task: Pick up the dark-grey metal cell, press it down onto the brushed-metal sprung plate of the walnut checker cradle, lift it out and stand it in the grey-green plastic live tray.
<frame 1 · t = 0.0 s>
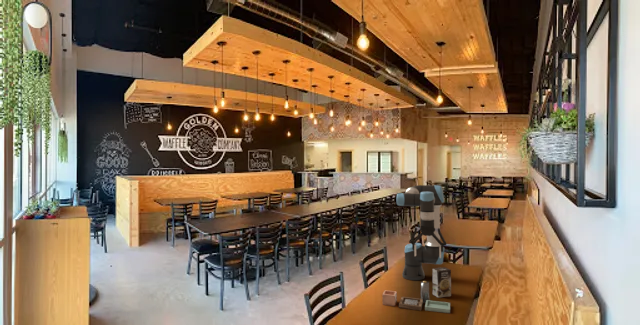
hand: (427, 256, 210), 28 cm above the table, fingers open, 13 cm apart
live tray: (437, 308, 207), on the table
checker plate: (411, 302, 212), point 1 cm above the table, slide at -1.2 cm
cell: (425, 301, 217), on the table
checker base: (411, 305, 212), on the table
coffee box: (441, 295, 226), on the table
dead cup: (389, 303, 215), on the table
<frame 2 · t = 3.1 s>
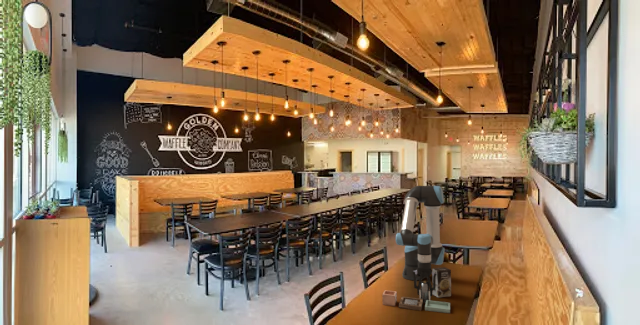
hand: (424, 300, 217), 0 cm above the table, fingers closed on cell, 4 cm apart
cell: (424, 301, 217), on the table, touching gripper
everything else where it was.
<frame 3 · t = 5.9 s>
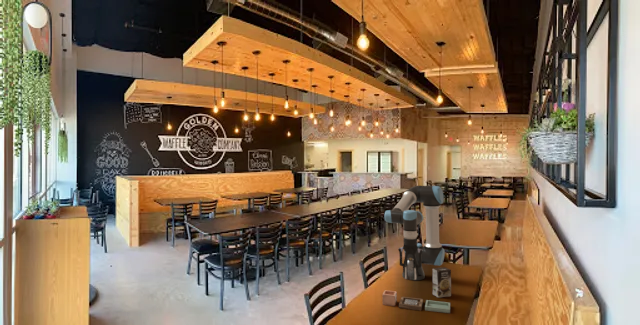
hand: (410, 278, 211), 15 cm above the table, fingers closed on cell, 4 cm apart
cell: (410, 278, 212), point 15 cm above the table, touching gripper
everything else where it was.
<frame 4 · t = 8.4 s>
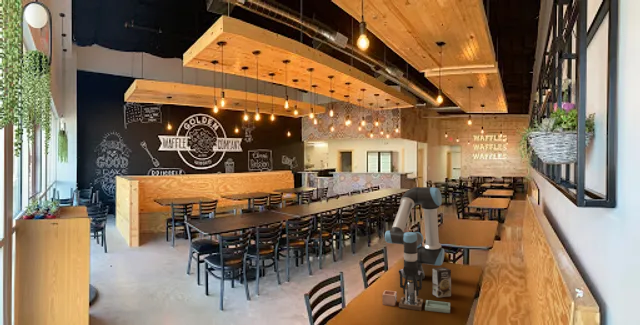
hand: (411, 300, 212), 3 cm above the table, fingers closed on cell, 4 cm apart
cell: (411, 300, 212), point 2 cm above the table, touching gripper
everything else where it was.
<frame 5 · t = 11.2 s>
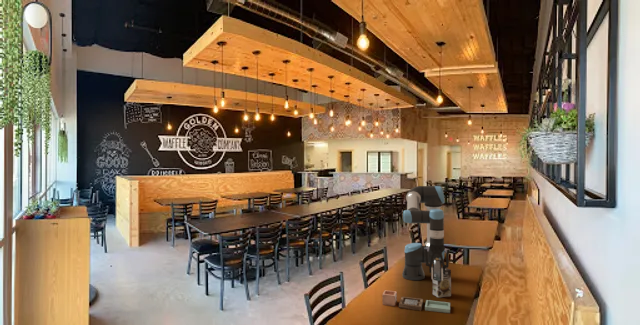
hand: (437, 279, 206), 16 cm above the table, fingers closed on cell, 4 cm apart
cell: (437, 279, 207), point 16 cm above the table, touching gripper
everything else where it was.
when the fingers open (3 cm above the table, at t = 13.8 s): cell drops 2 cm, resting on live tray.
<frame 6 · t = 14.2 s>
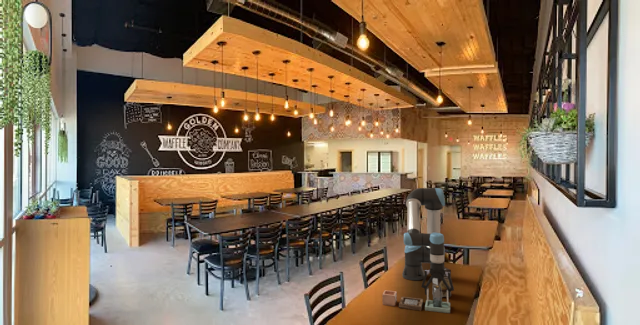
hand: (437, 301, 207), 4 cm above the table, fingers open, 10 cm apart
cell: (437, 307, 207), point 1 cm above the table, touching live tray
everything else where it was.
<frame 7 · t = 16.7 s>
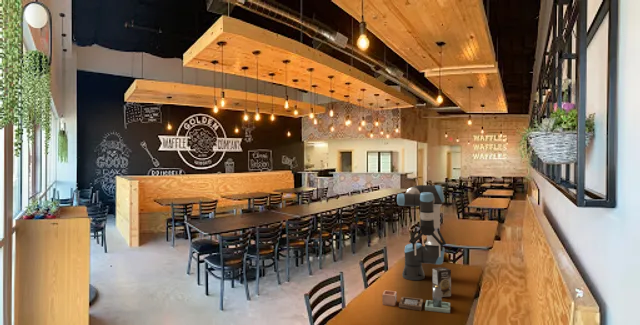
hand: (427, 255, 215), 27 cm above the table, fingers open, 13 cm apart
nothing on the table moved.
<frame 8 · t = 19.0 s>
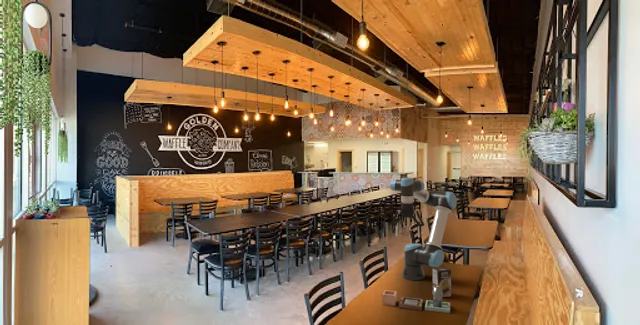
hand: (407, 236, 232), 35 cm above the table, fingers open, 13 cm apart
nothing on the table moved.
at the end: cell inside the target area on the live tray (0.2 cm from its centre), point 0.7 cm above the live tray's base; cell tilted 2°; the gripper is holding nothing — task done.
